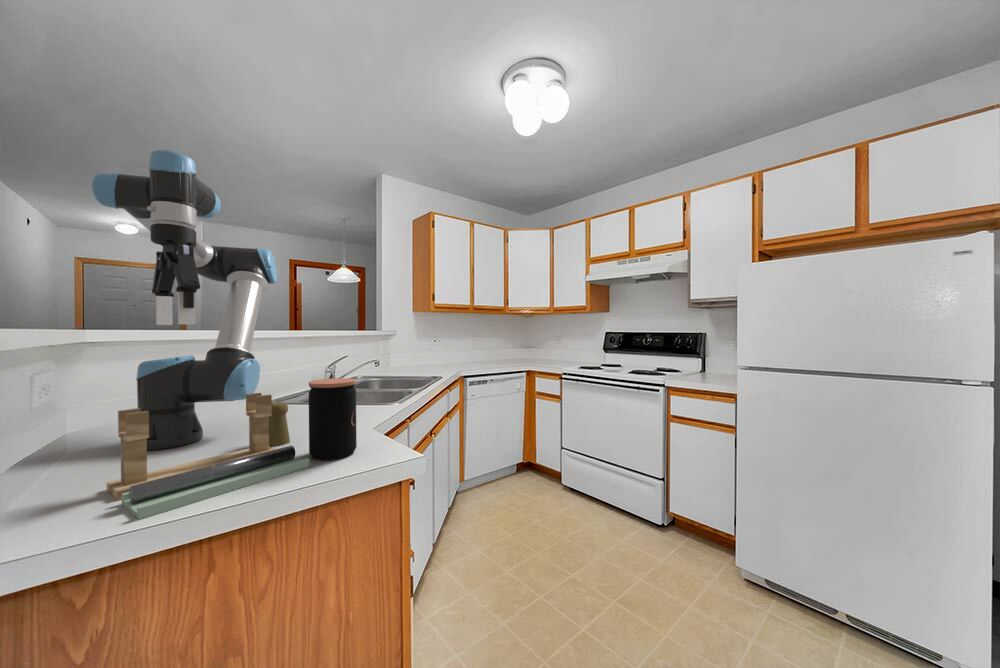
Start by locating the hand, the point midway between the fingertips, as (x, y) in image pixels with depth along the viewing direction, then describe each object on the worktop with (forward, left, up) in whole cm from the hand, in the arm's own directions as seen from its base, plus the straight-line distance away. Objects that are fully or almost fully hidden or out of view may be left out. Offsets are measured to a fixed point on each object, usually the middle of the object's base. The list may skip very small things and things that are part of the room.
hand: (175, 324), depth 81 cm
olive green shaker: (-2, +22, -32) cm, 39 cm away
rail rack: (+6, +3, -32) cm, 32 cm away
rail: (+16, +3, -29) cm, 34 cm away
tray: (+17, +3, -32) cm, 36 cm away
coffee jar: (+19, +25, -32) cm, 45 cm away
